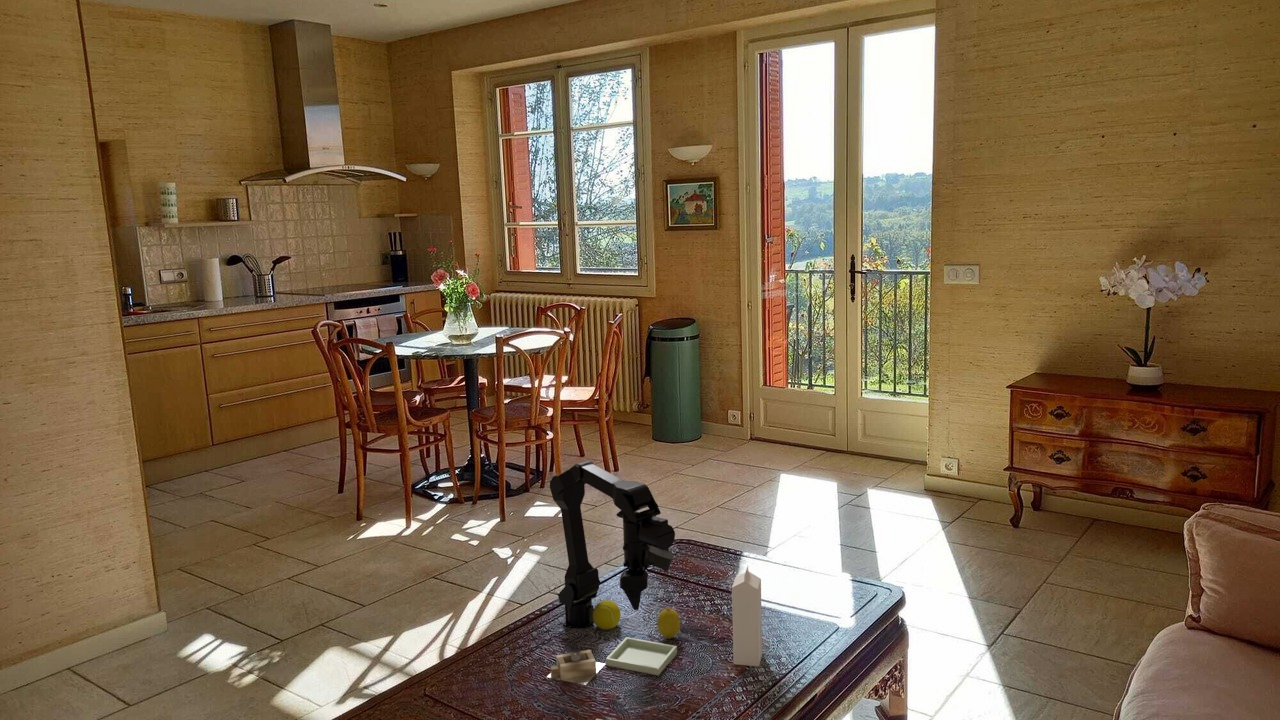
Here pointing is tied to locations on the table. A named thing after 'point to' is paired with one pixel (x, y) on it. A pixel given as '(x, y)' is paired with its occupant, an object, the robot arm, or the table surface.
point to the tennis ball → (606, 614)
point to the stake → (579, 679)
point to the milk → (747, 619)
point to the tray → (642, 656)
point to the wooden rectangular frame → (574, 665)
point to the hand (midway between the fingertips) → (637, 600)
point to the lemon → (668, 623)
